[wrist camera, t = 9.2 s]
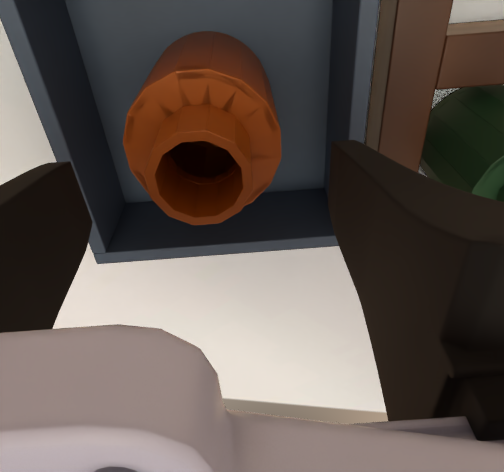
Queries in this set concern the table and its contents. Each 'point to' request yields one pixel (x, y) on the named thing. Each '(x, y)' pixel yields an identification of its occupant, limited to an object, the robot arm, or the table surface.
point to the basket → (134, 76)
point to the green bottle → (468, 141)
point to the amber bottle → (204, 129)
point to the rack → (424, 70)
